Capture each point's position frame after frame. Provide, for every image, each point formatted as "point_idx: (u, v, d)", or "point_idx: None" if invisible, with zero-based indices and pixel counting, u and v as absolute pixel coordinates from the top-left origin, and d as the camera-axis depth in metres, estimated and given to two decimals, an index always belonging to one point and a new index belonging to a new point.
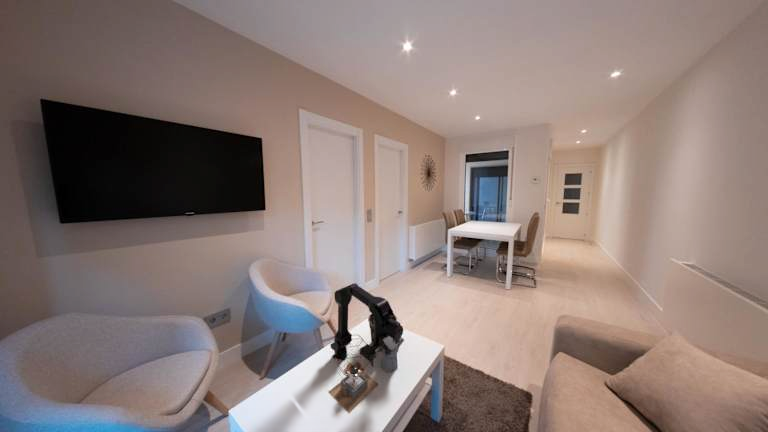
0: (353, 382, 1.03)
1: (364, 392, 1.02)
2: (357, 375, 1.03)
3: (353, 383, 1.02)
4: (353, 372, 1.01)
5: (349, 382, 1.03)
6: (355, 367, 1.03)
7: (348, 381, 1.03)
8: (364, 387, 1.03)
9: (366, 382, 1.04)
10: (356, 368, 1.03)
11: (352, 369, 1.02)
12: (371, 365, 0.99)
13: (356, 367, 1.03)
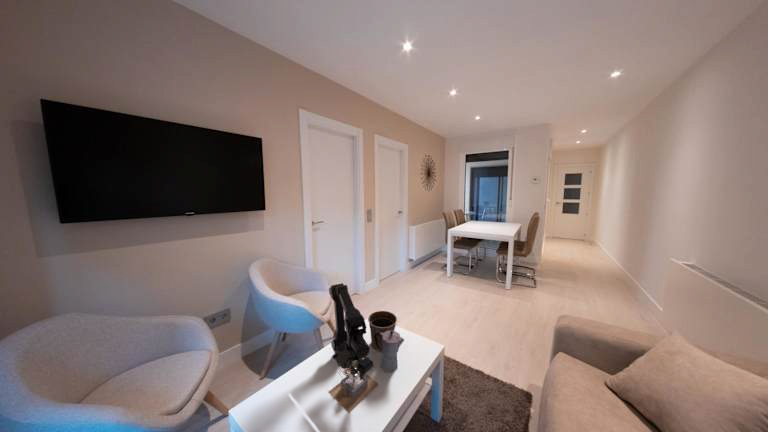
0: (353, 382, 1.03)
1: (364, 392, 1.02)
2: (357, 375, 1.03)
3: (353, 383, 1.02)
4: (353, 372, 1.01)
5: (349, 382, 1.03)
6: (355, 367, 1.03)
7: (348, 381, 1.03)
8: (364, 387, 1.03)
9: (366, 382, 1.04)
10: (356, 368, 1.03)
11: (352, 369, 1.02)
12: None
13: (356, 367, 1.03)
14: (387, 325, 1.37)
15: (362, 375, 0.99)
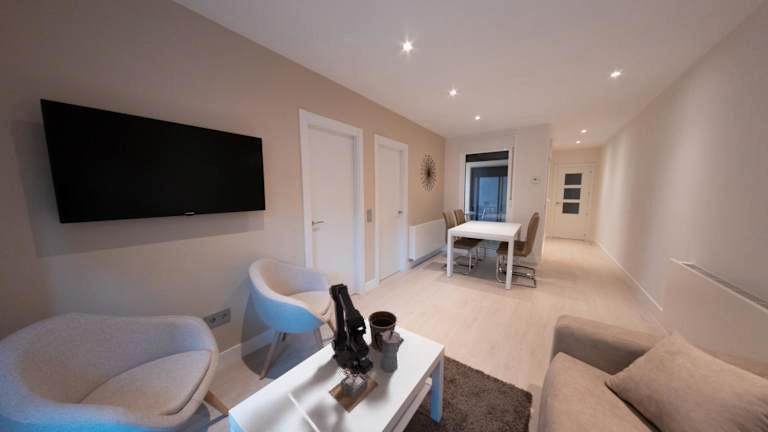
0: (353, 382, 1.03)
1: (364, 392, 1.02)
2: None
3: (353, 383, 1.02)
4: (353, 372, 1.01)
5: (349, 382, 1.03)
6: None
7: (348, 381, 1.03)
8: (364, 387, 1.03)
9: (366, 382, 1.04)
10: None
11: (352, 369, 1.02)
12: None
13: None
14: (387, 325, 1.37)
15: (358, 372, 1.01)
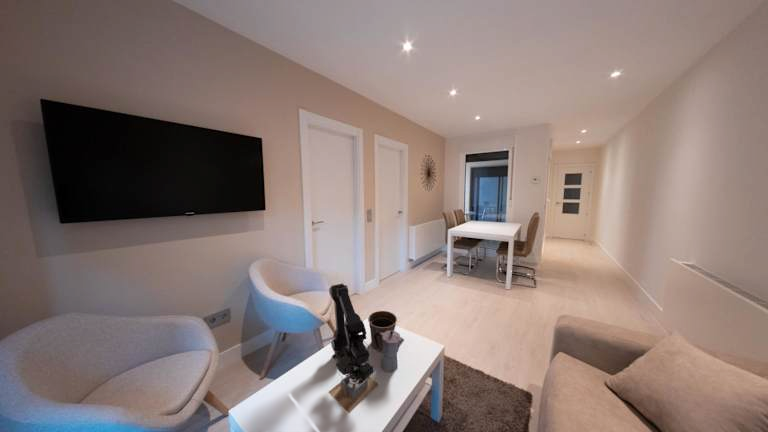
0: (353, 387, 1.03)
1: (364, 392, 1.02)
2: None
3: (353, 388, 1.03)
4: (353, 377, 1.01)
5: None
6: None
7: None
8: (364, 387, 1.03)
9: (366, 382, 1.04)
10: None
11: (352, 374, 1.02)
12: None
13: None
14: (387, 325, 1.37)
15: (358, 377, 1.01)
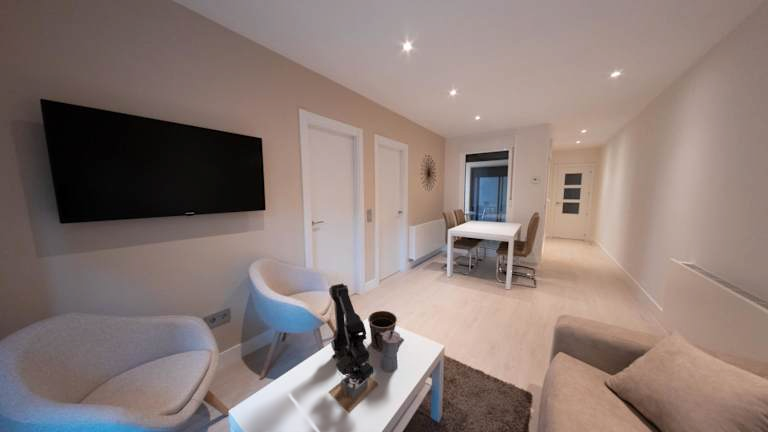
0: (353, 387, 1.03)
1: (364, 392, 1.02)
2: None
3: (353, 388, 1.03)
4: (353, 377, 1.01)
5: None
6: None
7: None
8: (364, 387, 1.03)
9: (366, 382, 1.04)
10: None
11: (352, 374, 1.02)
12: None
13: None
14: (387, 325, 1.37)
15: (358, 377, 1.01)
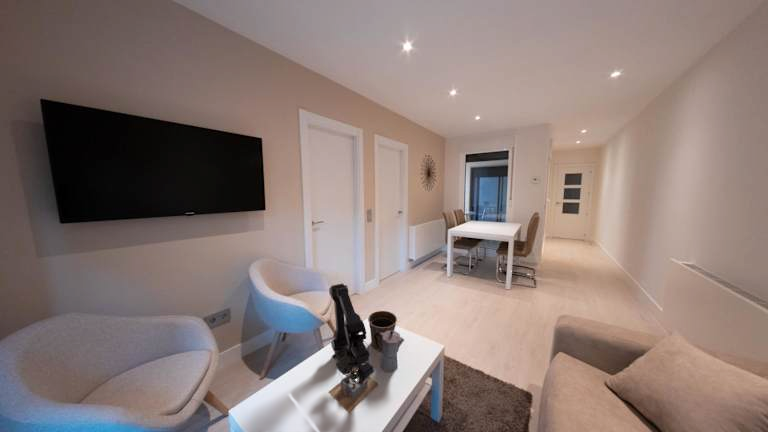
0: (353, 387, 1.03)
1: (364, 392, 1.02)
2: (357, 380, 1.03)
3: (353, 388, 1.03)
4: (353, 377, 1.01)
5: None
6: (355, 372, 1.04)
7: None
8: (364, 387, 1.03)
9: (366, 382, 1.04)
10: (356, 373, 1.03)
11: (352, 374, 1.02)
12: None
13: (356, 372, 1.03)
14: (387, 325, 1.37)
15: (362, 380, 0.99)
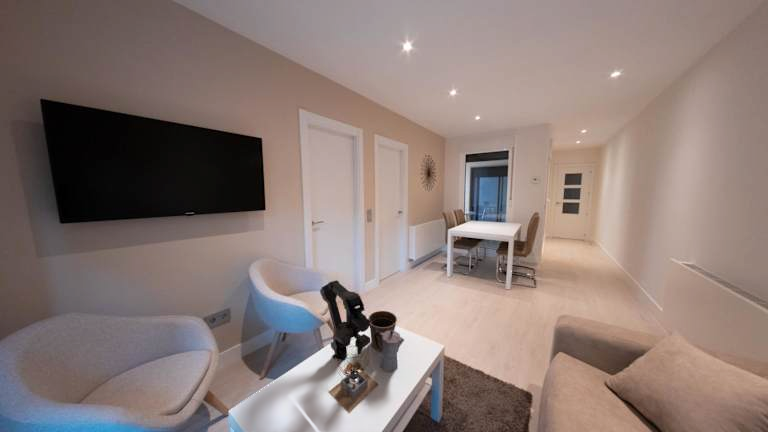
0: (353, 387, 1.03)
1: (364, 392, 1.02)
2: (357, 380, 1.03)
3: (353, 388, 1.03)
4: (353, 377, 1.01)
5: None
6: (355, 372, 1.04)
7: None
8: (364, 387, 1.03)
9: (366, 382, 1.04)
10: (356, 373, 1.03)
11: (352, 374, 1.02)
12: None
13: (356, 372, 1.03)
14: (387, 325, 1.37)
15: (360, 350, 1.08)
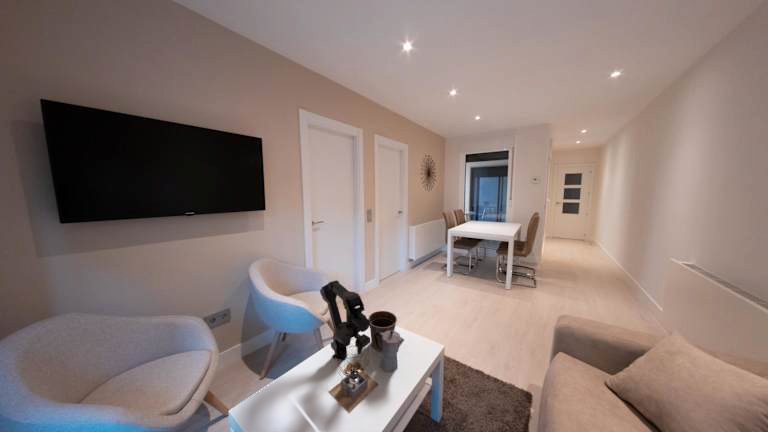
0: (353, 387, 1.03)
1: (364, 392, 1.02)
2: (357, 380, 1.03)
3: (353, 388, 1.03)
4: (353, 377, 1.01)
5: None
6: (355, 372, 1.04)
7: None
8: (364, 387, 1.03)
9: (366, 382, 1.04)
10: (356, 373, 1.03)
11: (352, 374, 1.02)
12: None
13: (356, 372, 1.03)
14: (387, 325, 1.37)
15: (360, 350, 1.08)
